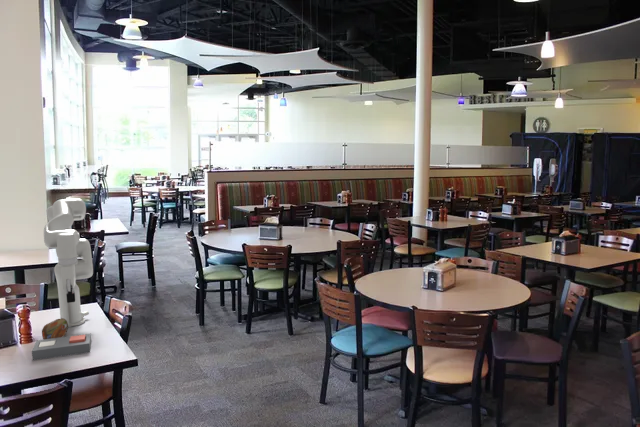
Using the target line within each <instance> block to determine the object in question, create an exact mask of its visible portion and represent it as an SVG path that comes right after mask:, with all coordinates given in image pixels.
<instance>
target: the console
mask: <svg viewBox="0 0 640 427" xmlns="http://www.w3.org/2000/svg"><path fill="white" fill-rule="evenodd" d="M78 335H79V334H77V335H74V336H78ZM81 335H86V341H83V342H76V343H70V342H69V341H70V337H71V336H72V335H69V336H67V335H66V336H63V337H59V338H51V339H43V338H42V339H38V340H37V339H36V341H35V343H34V345H33V347H32V350H31V357H32V361H38V360H39V361H40V360H47V359H51V358H52V359H55V358H58V357H67V356H74V355H81V354H89V353H91V347H92V342H93V340H92V333H82V334H81ZM55 340H56V343H55V345H53V346H46V347H39V344H40V342H47V341H55Z"/></svg>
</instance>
